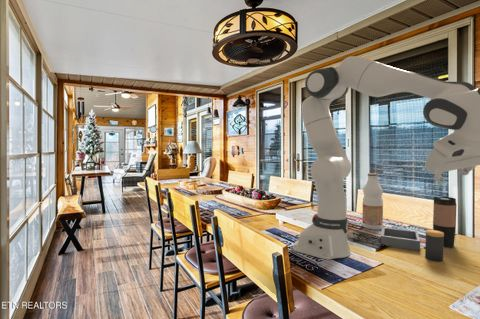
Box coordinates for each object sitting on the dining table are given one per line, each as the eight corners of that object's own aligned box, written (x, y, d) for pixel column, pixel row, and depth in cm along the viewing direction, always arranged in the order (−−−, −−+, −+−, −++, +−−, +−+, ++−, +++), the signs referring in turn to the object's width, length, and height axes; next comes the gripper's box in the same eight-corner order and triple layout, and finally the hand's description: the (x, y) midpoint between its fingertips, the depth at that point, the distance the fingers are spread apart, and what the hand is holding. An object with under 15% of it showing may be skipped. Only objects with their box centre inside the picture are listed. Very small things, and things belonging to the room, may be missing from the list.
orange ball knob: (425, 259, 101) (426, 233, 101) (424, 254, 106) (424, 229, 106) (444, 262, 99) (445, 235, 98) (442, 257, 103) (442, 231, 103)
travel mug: (452, 249, 111) (453, 200, 110) (430, 244, 117) (431, 197, 116) (457, 244, 116) (458, 198, 115) (435, 240, 122) (436, 195, 121)
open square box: (380, 245, 117) (380, 235, 116) (382, 235, 129) (382, 227, 128) (420, 251, 110) (420, 241, 109) (417, 240, 122) (417, 231, 122)
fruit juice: (370, 230, 136) (371, 174, 135) (358, 225, 145) (359, 173, 144) (386, 229, 138) (387, 174, 137) (373, 224, 147) (374, 172, 146)
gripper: (490, 131, 85) (471, 165, 94) (429, 142, 84) (415, 176, 92) (509, 142, 80) (487, 177, 89) (444, 154, 79) (428, 188, 87)
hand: (450, 176), depth 90 cm, fingers open, 8 cm apart
